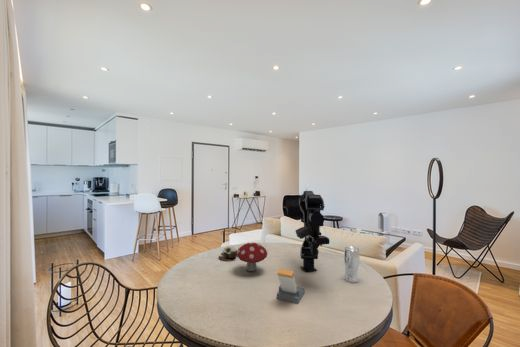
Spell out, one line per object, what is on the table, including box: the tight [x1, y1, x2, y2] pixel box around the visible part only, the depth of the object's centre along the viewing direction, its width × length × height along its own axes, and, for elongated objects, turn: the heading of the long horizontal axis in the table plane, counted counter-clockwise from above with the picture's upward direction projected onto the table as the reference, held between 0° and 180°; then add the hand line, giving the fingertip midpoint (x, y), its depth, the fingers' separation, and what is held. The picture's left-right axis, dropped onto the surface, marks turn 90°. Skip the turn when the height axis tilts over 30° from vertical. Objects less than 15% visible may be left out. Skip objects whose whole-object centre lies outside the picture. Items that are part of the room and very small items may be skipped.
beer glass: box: [343, 246, 360, 284], centre depth 116 cm, size 7×7×15 cm
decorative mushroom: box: [237, 242, 268, 272], centre depth 125 cm, size 16×16×15 cm
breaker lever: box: [276, 268, 297, 294], centre depth 96 cm, size 2×6×12 cm, turn 65°
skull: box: [218, 244, 238, 262], centre depth 145 cm, size 12×10×10 cm
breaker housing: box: [276, 284, 306, 305], centre depth 101 cm, size 10×9×4 cm
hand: (313, 254), depth 114 cm, fingers closed
